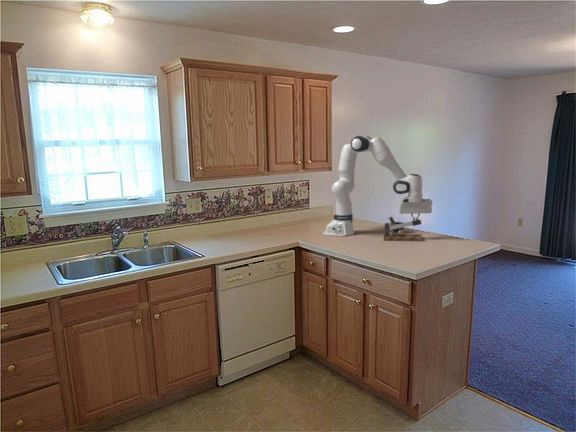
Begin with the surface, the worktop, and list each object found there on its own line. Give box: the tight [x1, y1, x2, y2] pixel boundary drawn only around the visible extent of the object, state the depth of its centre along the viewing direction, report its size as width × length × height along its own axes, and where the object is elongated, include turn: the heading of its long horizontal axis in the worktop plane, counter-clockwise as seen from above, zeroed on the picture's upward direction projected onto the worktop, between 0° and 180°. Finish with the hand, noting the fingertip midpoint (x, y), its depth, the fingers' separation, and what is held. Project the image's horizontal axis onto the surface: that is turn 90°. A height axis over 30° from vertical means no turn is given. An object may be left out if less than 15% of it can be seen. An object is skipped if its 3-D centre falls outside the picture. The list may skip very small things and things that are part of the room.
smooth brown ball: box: [398, 229, 406, 236], centre depth 271 cm, size 4×4×4 cm
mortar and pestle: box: [388, 216, 405, 234], centre depth 290 cm, size 11×9×12 cm
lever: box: [389, 218, 422, 231], centre depth 270 cm, size 21×4×3 cm, turn 75°
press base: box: [383, 222, 423, 242], centre depth 271 cm, size 24×12×10 cm, turn 76°
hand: (415, 220), depth 267 cm, fingers closed
